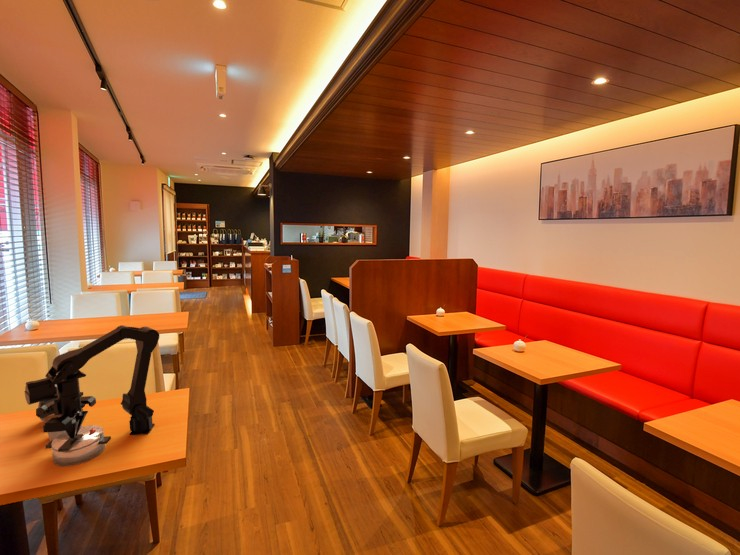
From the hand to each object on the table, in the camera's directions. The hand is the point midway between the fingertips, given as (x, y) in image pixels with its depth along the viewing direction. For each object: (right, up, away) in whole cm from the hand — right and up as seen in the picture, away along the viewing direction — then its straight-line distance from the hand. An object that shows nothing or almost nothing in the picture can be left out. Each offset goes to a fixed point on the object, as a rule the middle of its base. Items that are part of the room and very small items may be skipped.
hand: (73, 436), depth 126 cm
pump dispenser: (-25, -4, +23) cm, 34 cm away
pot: (0, -7, +3) cm, 8 cm away
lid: (0, -2, +2) cm, 3 cm away
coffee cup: (-15, -5, +13) cm, 21 cm away
